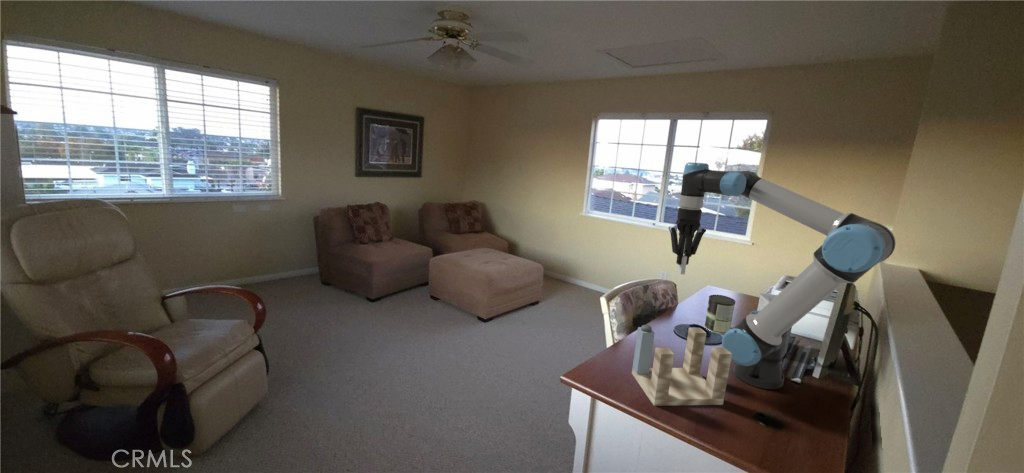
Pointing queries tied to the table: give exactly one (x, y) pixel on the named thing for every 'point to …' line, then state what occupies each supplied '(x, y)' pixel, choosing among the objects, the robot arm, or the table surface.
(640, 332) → the pale blue upright post
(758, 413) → the table surface
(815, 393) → the table surface
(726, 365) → the upturned stool
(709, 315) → the coffee can
